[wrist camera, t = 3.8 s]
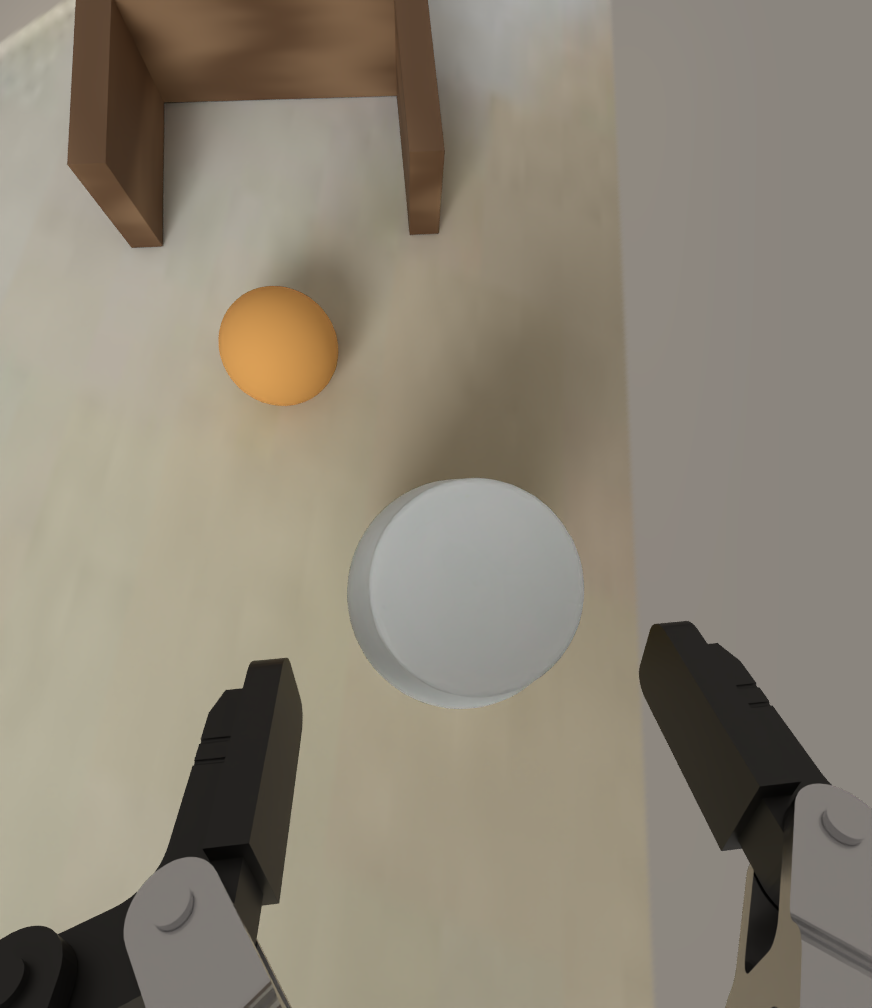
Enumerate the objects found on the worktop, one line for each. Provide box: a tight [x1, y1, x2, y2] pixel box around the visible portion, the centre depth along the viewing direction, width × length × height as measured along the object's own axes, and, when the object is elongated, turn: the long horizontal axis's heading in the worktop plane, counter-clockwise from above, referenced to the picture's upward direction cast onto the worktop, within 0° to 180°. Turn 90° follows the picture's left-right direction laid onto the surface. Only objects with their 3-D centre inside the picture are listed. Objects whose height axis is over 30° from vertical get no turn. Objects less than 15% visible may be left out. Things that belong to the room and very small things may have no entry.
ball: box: [219, 286, 338, 406], centre depth 18 cm, size 4×4×4 cm
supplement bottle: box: [347, 478, 584, 709], centre depth 14 cm, size 5×5×10 cm
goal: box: [67, 0, 445, 248], centre depth 20 cm, size 12×8×4 cm, turn 95°
